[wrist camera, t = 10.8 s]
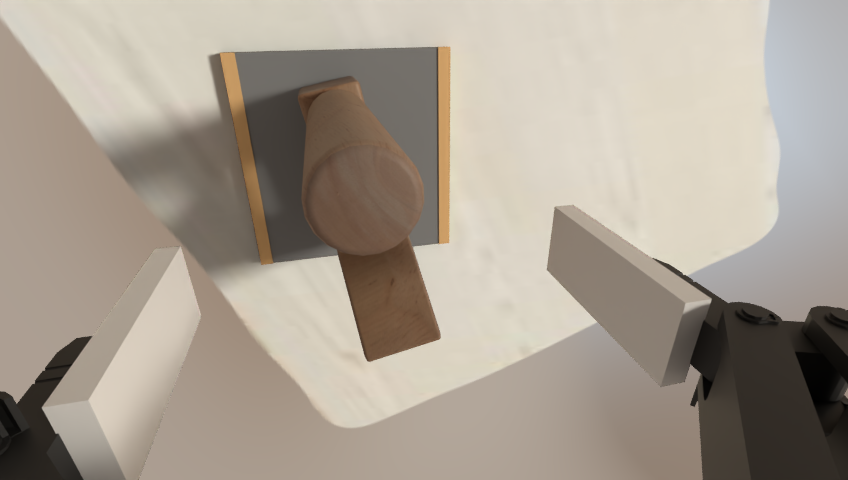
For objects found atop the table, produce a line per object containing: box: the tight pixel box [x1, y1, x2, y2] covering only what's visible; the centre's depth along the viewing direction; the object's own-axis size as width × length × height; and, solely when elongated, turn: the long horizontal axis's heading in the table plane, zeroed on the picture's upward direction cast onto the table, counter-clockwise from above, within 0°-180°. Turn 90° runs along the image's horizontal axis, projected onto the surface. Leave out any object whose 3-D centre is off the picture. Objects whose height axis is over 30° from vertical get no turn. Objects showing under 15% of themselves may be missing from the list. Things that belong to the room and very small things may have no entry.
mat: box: [220, 47, 450, 265], centre depth 30 cm, size 14×14×1 cm
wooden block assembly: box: [298, 76, 441, 362], centre depth 22 cm, size 4×11×18 cm, turn 12°
